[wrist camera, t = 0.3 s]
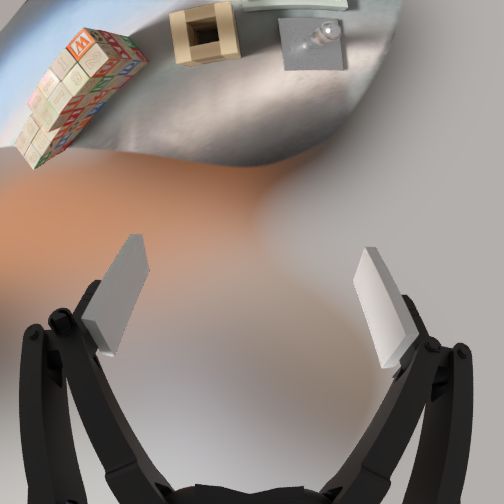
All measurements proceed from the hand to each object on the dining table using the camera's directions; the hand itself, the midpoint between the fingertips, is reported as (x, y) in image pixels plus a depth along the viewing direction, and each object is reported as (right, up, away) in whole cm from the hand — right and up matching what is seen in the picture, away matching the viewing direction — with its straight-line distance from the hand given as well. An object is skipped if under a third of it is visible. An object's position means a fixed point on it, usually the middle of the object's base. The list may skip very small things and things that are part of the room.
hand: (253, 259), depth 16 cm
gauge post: (+8, +28, +12) cm, 32 cm away
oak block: (-5, +29, +12) cm, 32 cm away
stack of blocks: (-25, +25, +16) cm, 38 cm away
